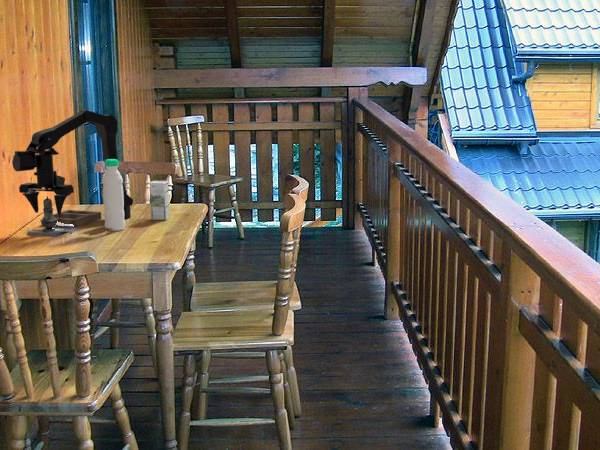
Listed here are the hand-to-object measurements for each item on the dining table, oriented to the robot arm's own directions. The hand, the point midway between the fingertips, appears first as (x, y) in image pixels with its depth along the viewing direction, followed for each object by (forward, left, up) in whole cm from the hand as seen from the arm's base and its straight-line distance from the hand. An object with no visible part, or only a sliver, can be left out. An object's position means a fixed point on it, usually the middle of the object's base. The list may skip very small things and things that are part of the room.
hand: (48, 213), depth 289 cm
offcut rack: (0, -14, -7) cm, 16 cm away
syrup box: (-25, -34, -7) cm, 43 cm away
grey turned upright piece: (0, 0, -6) cm, 6 cm away
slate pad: (0, 0, -7) cm, 7 cm away
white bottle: (-19, -12, -7) cm, 24 cm away
